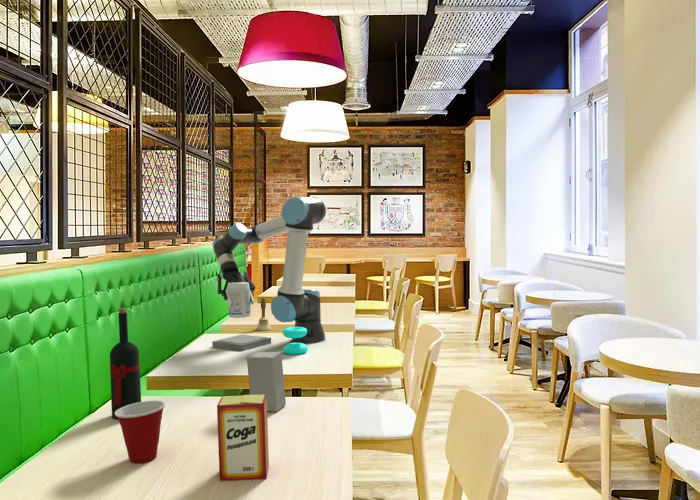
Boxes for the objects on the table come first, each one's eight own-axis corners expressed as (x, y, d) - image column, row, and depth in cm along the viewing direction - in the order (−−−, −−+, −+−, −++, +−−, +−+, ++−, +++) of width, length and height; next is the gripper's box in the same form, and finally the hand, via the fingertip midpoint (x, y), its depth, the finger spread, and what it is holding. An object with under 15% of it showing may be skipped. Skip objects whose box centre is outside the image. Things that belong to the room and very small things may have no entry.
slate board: (271, 343, 266) (271, 337, 266) (242, 351, 251) (242, 344, 251) (241, 339, 276) (241, 334, 276) (212, 347, 261) (212, 340, 261)
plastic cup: (124, 451, 140) (122, 400, 140) (171, 448, 141) (169, 398, 141) (109, 469, 129) (107, 414, 129) (161, 466, 130) (158, 412, 130)
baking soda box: (219, 481, 122) (216, 403, 121) (224, 468, 129) (221, 394, 128) (266, 478, 123) (263, 401, 122) (268, 466, 129) (266, 392, 129)
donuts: (311, 326, 247) (300, 330, 238) (311, 350, 248) (300, 355, 239) (289, 325, 251) (278, 329, 242) (290, 349, 252) (278, 354, 242)
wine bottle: (102, 422, 161) (97, 312, 160) (119, 411, 171) (115, 306, 170) (131, 422, 161) (126, 311, 160) (146, 410, 171) (142, 306, 170)
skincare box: (286, 406, 172) (284, 351, 171) (275, 413, 165) (273, 356, 165) (259, 404, 175) (258, 350, 174) (247, 411, 168) (246, 355, 167)
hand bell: (263, 327, 309) (262, 296, 308) (275, 328, 304) (274, 297, 303) (251, 330, 302) (250, 298, 301) (263, 331, 297) (262, 299, 296)
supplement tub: (243, 314, 269) (242, 281, 268) (255, 316, 261) (253, 282, 261) (224, 316, 262) (223, 283, 262) (235, 319, 255) (234, 284, 255)
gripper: (249, 269, 280) (263, 306, 267) (202, 273, 269) (214, 311, 256) (253, 258, 275) (267, 295, 262) (205, 261, 264) (218, 300, 251)
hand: (241, 303), depth 259 cm, fingers closed on supplement tub, 9 cm apart
